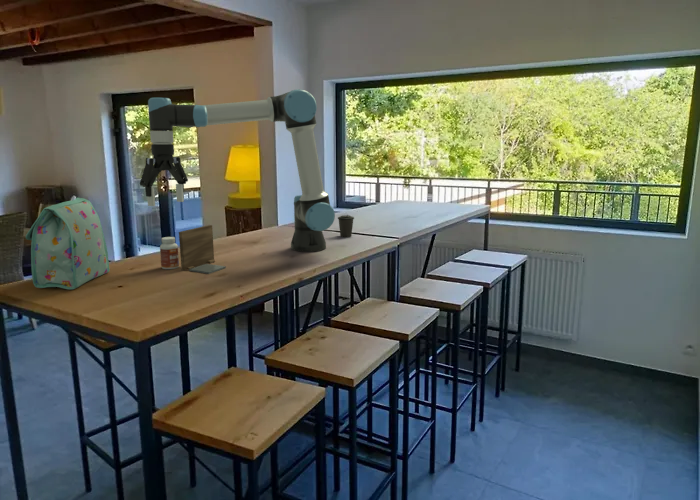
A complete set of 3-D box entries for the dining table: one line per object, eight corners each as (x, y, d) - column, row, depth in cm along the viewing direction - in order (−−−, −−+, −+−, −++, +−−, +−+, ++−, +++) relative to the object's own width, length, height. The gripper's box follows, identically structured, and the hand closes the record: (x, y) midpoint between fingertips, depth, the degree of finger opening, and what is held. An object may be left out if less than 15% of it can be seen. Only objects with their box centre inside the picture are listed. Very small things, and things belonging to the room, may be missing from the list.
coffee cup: (345, 238, 239) (345, 217, 237) (334, 236, 245) (334, 215, 243) (357, 236, 245) (357, 215, 242) (346, 233, 251) (346, 213, 248)
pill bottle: (172, 270, 182) (169, 240, 180) (157, 269, 184) (155, 239, 182) (182, 266, 188) (180, 237, 186) (168, 264, 190) (166, 235, 187)
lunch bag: (69, 271, 180) (60, 195, 174) (115, 272, 180) (107, 196, 174) (27, 290, 158) (15, 204, 152) (79, 291, 158) (69, 205, 151)
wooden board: (216, 261, 196) (214, 225, 192) (187, 271, 181) (184, 232, 178) (208, 260, 197) (206, 224, 194) (178, 269, 183) (176, 231, 180)
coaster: (225, 267, 186) (225, 266, 186) (209, 273, 178) (209, 272, 178) (206, 265, 190) (206, 263, 189) (189, 270, 182) (189, 269, 182)
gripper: (180, 143, 191) (183, 199, 195) (125, 143, 169) (130, 207, 173) (195, 143, 187) (198, 200, 192) (141, 144, 165) (146, 208, 170)
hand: (166, 203), depth 183 cm, fingers open, 13 cm apart
